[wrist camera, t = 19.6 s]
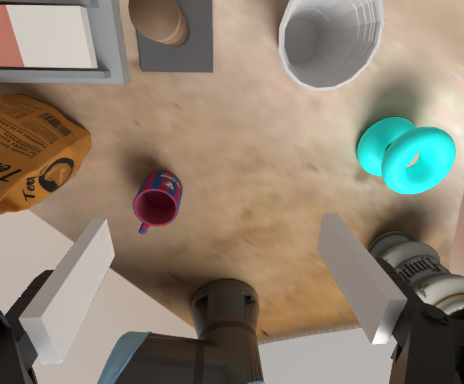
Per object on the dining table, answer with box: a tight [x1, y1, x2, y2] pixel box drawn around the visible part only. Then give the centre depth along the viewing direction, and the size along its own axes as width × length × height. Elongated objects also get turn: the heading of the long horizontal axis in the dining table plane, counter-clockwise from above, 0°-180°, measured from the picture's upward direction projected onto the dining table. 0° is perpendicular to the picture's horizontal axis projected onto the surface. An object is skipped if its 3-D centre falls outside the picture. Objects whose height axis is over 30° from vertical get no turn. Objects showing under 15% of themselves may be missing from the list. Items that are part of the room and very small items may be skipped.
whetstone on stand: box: [0, 0, 130, 84], centre depth 33 cm, size 10×20×6 cm, turn 89°
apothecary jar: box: [368, 231, 464, 321], centre depth 48 cm, size 12×12×18 cm
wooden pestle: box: [129, 0, 190, 47], centre depth 28 cm, size 4×4×15 cm
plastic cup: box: [278, 0, 385, 91], centre depth 32 cm, size 11×11×12 cm
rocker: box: [0, 5, 98, 68], centre depth 30 cm, size 16×6×1 cm, turn 89°
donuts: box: [357, 117, 456, 194], centre depth 41 cm, size 10×10×10 cm
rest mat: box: [137, 0, 213, 73], centre depth 35 cm, size 10×10×1 cm
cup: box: [133, 171, 182, 234], centre depth 43 cm, size 7×10×7 cm
